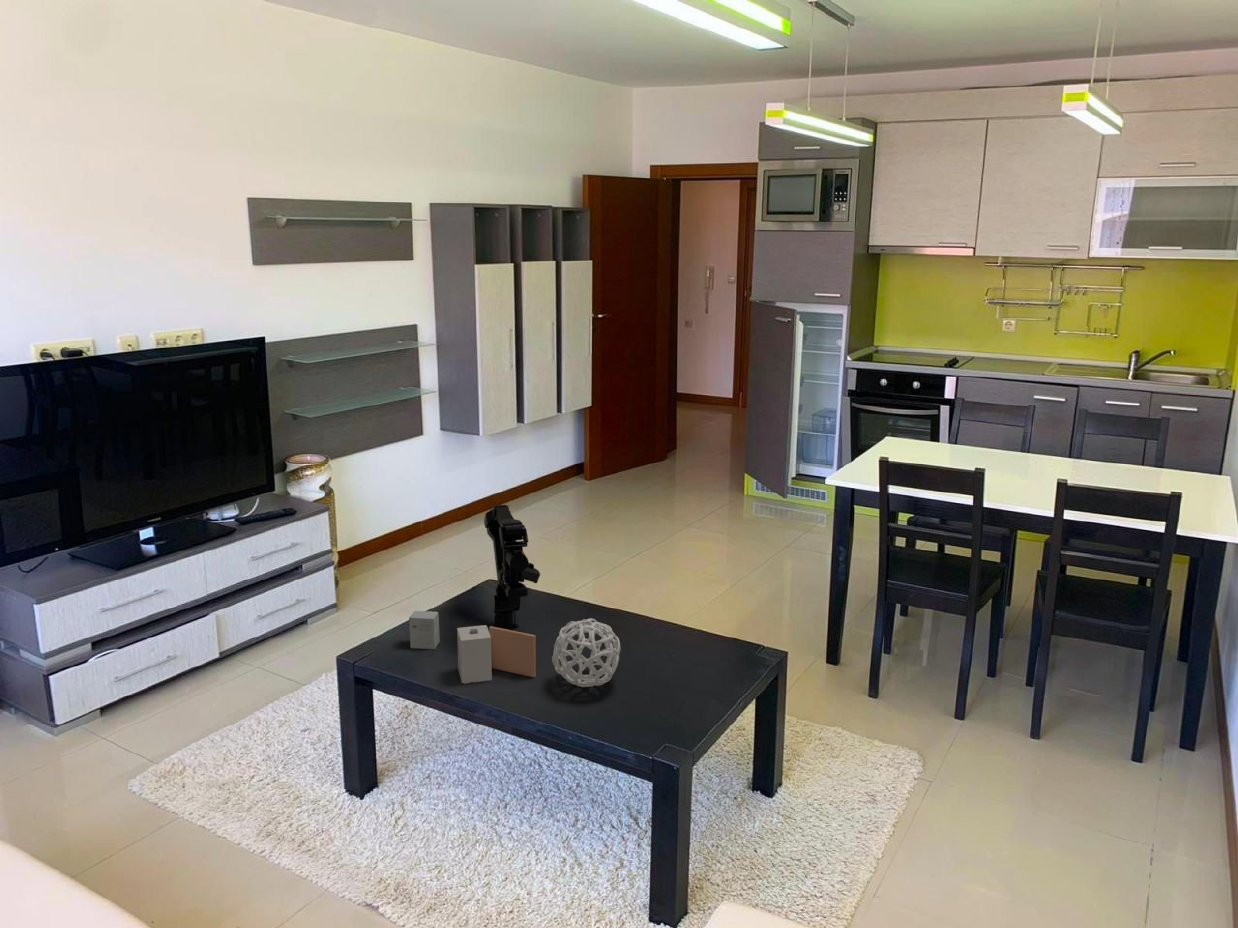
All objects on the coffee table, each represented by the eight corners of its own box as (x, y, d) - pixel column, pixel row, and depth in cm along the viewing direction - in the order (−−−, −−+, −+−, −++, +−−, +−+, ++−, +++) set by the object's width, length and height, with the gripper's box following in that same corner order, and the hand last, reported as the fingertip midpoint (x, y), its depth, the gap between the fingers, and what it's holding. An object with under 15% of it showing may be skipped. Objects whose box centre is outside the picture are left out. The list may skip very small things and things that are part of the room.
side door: (491, 666, 277) (490, 626, 274) (535, 675, 272) (535, 635, 268) (489, 667, 276) (489, 627, 273) (534, 677, 271) (533, 636, 268)
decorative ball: (541, 694, 261) (541, 632, 256) (564, 664, 280) (564, 605, 275) (609, 705, 256) (610, 641, 251) (627, 673, 274) (629, 614, 270)
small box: (440, 642, 293) (439, 611, 291) (435, 649, 288) (434, 618, 285) (415, 640, 294) (414, 610, 291) (410, 648, 288) (408, 617, 286)
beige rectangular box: (457, 667, 276) (456, 623, 272) (486, 664, 278) (485, 620, 275) (462, 683, 267) (461, 638, 263) (491, 680, 269) (491, 634, 265)
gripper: (544, 569, 281) (544, 616, 284) (532, 549, 298) (532, 594, 302) (507, 572, 277) (508, 620, 281) (497, 552, 295) (498, 597, 299)
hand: (512, 607), depth 291 cm, fingers closed
